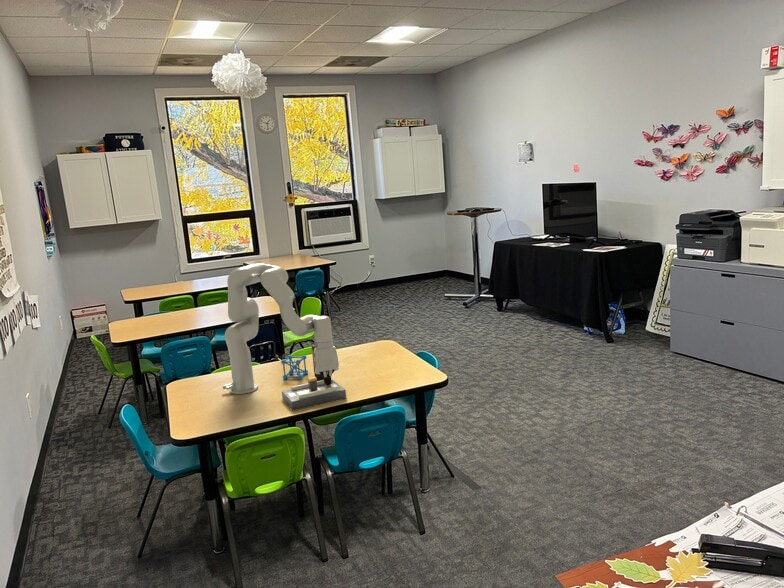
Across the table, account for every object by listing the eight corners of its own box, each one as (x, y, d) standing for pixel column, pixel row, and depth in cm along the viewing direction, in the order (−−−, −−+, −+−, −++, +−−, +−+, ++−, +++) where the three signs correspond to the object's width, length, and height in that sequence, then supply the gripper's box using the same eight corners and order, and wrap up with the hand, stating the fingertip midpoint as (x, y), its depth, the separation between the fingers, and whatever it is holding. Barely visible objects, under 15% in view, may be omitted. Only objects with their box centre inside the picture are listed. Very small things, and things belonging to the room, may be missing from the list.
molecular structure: (282, 380, 287) (279, 360, 286) (290, 373, 297) (288, 354, 295) (301, 380, 285) (299, 360, 283) (308, 373, 294) (306, 354, 293)
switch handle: (310, 391, 255) (309, 379, 254) (308, 389, 258) (307, 377, 257) (317, 389, 256) (316, 378, 255) (315, 387, 259) (314, 376, 258)
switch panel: (292, 410, 246) (291, 398, 245) (282, 399, 260) (281, 387, 259) (346, 398, 256) (345, 386, 255) (333, 388, 270) (332, 376, 269)
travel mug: (334, 381, 280) (330, 340, 276) (328, 386, 273) (323, 344, 269) (319, 380, 282) (315, 340, 278) (312, 386, 275) (308, 344, 271)
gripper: (310, 349, 250) (314, 390, 253) (343, 343, 256) (347, 383, 259) (305, 345, 257) (309, 385, 260) (337, 339, 263) (341, 379, 266)
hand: (328, 384), depth 260 cm, fingers closed
